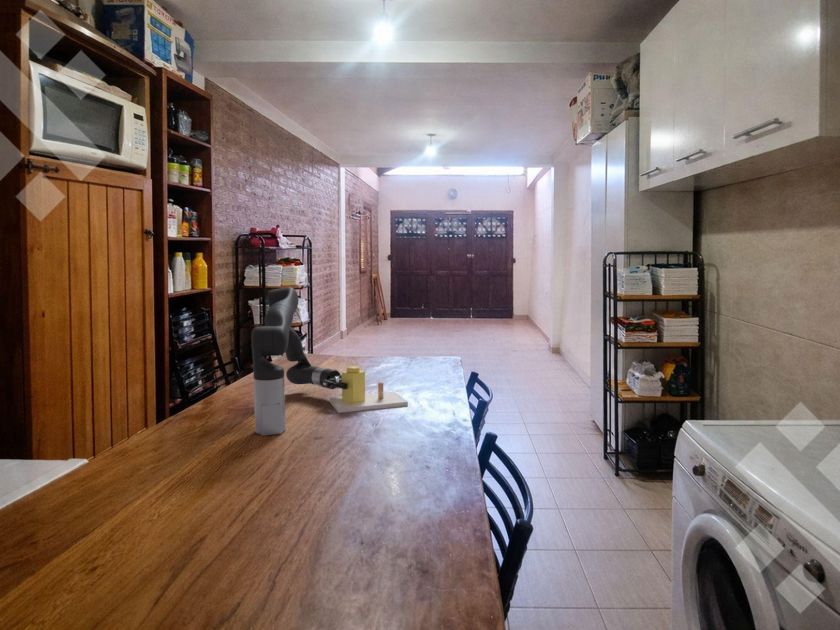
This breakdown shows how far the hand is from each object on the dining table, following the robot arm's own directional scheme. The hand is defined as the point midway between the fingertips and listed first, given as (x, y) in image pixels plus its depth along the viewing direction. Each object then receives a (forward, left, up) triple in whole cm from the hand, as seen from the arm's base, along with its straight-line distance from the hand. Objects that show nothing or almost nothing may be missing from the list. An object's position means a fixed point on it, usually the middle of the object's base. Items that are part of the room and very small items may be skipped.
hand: (355, 384), depth 193 cm
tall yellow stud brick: (+1, +1, -7) cm, 7 cm away
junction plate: (+1, -5, -8) cm, 9 cm away
